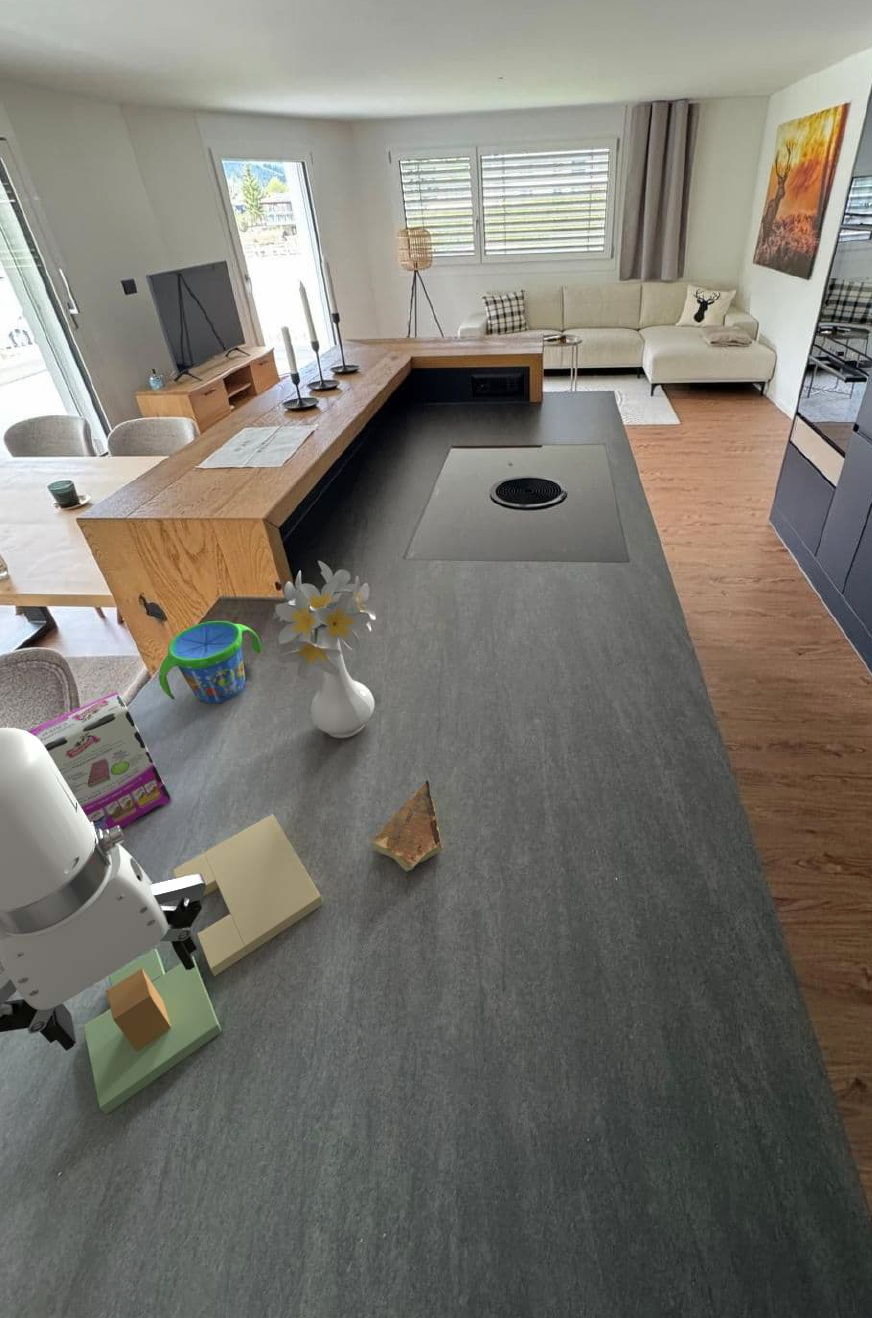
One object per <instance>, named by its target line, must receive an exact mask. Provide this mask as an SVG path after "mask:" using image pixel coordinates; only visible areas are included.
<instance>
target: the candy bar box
mask: <svg viewBox="0 0 872 1318" xmlns="http://www.w3.org/2000/svg"><path fill="white" fill-rule="evenodd" d="M26 731H27V732H29V733H31V734H32V735H34V736H35V737H37V738H38V739H39V740H40V741H41V743H42V744H43V745H44V746H45V748H46V750H47V751H48V753H49V755H50V756H51V758H52V760H53V761H54V763H55V765H56V766H57V768H58V770H59V771H60V773H61V775H62V776H63V778H64V780H65V781H66V783H67V785H68V786H69V788H70V790H71V791H72V793H73V795H74V796H75V798H76V800H77V801H78V803H79V805H80V806H81V808H82V810H83V811H84V813H85V815H86V816H87V818H88V820H89V821H90V823H91V822H93V824H94V825H95V827H96V829H99V828H100V829H101V830H102V831H103V830H105V829H108V830H109V829H111V828H113V827H115V826H117V825H119V826H120V828H121V829H123V828H124V827H126V826H128V825H130V824H131V823H134V822H136V821H137V820H139V819H141V818H143V817H144V816H147V814H148V815H149V813H151V812H153V811H155V810H157V809H158V808H161V807H163V806H164V805H166V804H167V803H168V804H169V802H171V801H172V798H171V797H172V796H171V795H170V793H169V791H168V788H167V786H166V784H165V782H164V780H163V777H162V776H161V773H160V771H159V770H158V768H157V765H156V763H155V762H154V760H153V757H152V755H151V753H150V751H149V749H148V747H147V745H146V743H145V741H144V739H143V737H142V735H141V733H140V731H139V729H138V727H137V725H136V723H135V721H134V719H133V717H132V715H131V713H130V711H129V709H128V707H127V705H126V703H125V702H124V700H123V698H122V696H121V694H120V693H119V691H118V690H117V691H115V692H112V693H110V694H108V695H106V696H104V697H101V698H99V699H97V700H93V701H92V702H89V703H88V704H84V705H83V706H80V707H78V708H76V709H74V710H71V711H69V712H67V713H65V714H63V715H61V716H58V717H56V718H54V719H52V720H49V721H46V722H44V723H43V724H39V725H38V726H35V727H33V728H31V729H29V730H26Z"/></svg>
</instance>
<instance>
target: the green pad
mask: <svg viewBox="0 0 872 1318" xmlns="http://www.w3.org/2000/svg"><path fill="white" fill-rule="evenodd" d="M191 956H192V959H193V962H194V964H195V967H194V968H192V969H191V970H189V969H188V970H187V971H186V969H185V967H184V966H183V964H182V962H180V964H178V965H177V966H175V967H173V968H171V969H170V970H168V971H167V972H166V970H165V966H164V964H163V960H162V957H161V955H160V953H159V951H158V949H157V948H153V949H152V950H150V951H149V952H147V953H144V954H143V955H142V956H141V957H140V956H139V958H136V960H133V961H131V962H130V963H128V964H126V965H125V966H123V967H122V968H120V969H118V970H117V971H115V972H113V973H112V975H111V974H110V975H109V977H108V979H109V982H110V986H111V987H109V988H108V989H106V995H107V999H108V1003H109V1009H108V1010H106V1011H105V1012H103V1013H102V1014H100V1015H99V1016H97V1017H95V1018H93V1019H92V1020H91V1021H89V1022H87V1023H86V1024H84V1025H83V1032H84V1036H85V1042H86V1045H87V1046H86V1047H87V1053H88V1056H89V1062H90V1067H91V1072H92V1077H93V1082H94V1088H95V1092H96V1099H97V1103H98V1108H99V1109H100V1110H101V1111H102V1113H103V1114H104V1115H108V1114H109V1113H110V1112H112V1111H114V1109H116V1108H118V1107H119V1106H121V1105H122V1104H123V1103H125V1102H126V1101H127V1100H129V1099H130V1098H131V1097H133V1096H134V1095H136V1094H137V1093H138V1092H140V1091H141V1090H142V1089H144V1088H145V1087H147V1086H148V1085H150V1084H151V1083H152V1082H154V1081H155V1080H156V1079H158V1078H159V1077H161V1076H162V1075H164V1074H165V1073H166V1072H168V1071H169V1070H171V1069H172V1068H173V1067H175V1066H176V1065H178V1064H180V1062H182V1061H184V1059H186V1058H188V1056H191V1054H193V1053H195V1052H196V1051H197V1050H199V1049H200V1048H201V1047H203V1046H205V1044H207V1043H209V1042H210V1041H211V1040H212V1039H214V1038H215V1037H217V1036H218V1035H220V1034H221V1033H222V1031H223V1030H222V1028H221V1026H220V1022H219V1020H218V1017H217V1015H216V1011H215V1009H214V1005H213V1003H212V1000H211V998H210V995H209V993H208V990H207V986H206V984H205V982H204V979H203V976H202V974H201V971H200V968H199V965H198V963H197V961H196V959H195V957H194V956H193V955H191Z"/></svg>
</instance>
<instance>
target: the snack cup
mask: <svg viewBox="0 0 872 1318" xmlns="http://www.w3.org/2000/svg"><path fill="white" fill-rule="evenodd" d="M245 632H247V633H249V634H250V635H251V636H250V637H251V647H252V649H253V651H254V652H255V653H257V654H261V653H262V645H261V641H260V638H259V636H258V635H257V633H256V632H255V631H254V630H252V629H251V628H250V627H248V626H246V625H244V624H240V623H233V622H231V621H226V620H212V621H205V622H201V623H198V624H195V625H192V626H189V627H187V628H185V629H183V630H182V631H181V632H179V633H177V634H176V635H175V636H174V637H173V638H172V639H171V641H170V642H169V644H168V647H167V655H166V656H165V658H164V659H163V661H162V663H161V665H160V667H159V671H158V680H159V685H160V687H161V689H162V690H163V691H164V693H165V694H166V695H167V696H168V697H169V698H170V699H171V700H175V696H174V694H172V692H171V691H172V690H171V688H170V684H169V681H168V678H167V675H168V674H169V672H170V671H171V669H172V668H173V667H177V668H178V669H179V671H180V673H181V674H182V676H183V678H184V680H185V682H186V683H187V684H188V686H189V687H190V689H191V691H192V692H193V694H194V696H195V697H196V699H197V700H198V701H199V702H202V703H206V704H223V703H224V702H226V701H229V700H231V699H233V698H235V696H236V695H237V694H239V693H241V692H243V691H244V686H245V683H246V675H245V667H244V666H245V665H244V659H243V652H242V643H243V633H245Z"/></svg>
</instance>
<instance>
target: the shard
mask: <svg viewBox="0 0 872 1318" xmlns="http://www.w3.org/2000/svg"><path fill="white" fill-rule="evenodd" d="M430 788H431V785H430V781H429V779H426V781H425V782H424V783H423V785H421V786H420V788H418V790H417V791H416V793H415V794H414V795H413V796H412V797H410V799H409V800H408V801H407V802H406V803H404V804H403V805H402V806H401V807H400V808H399V809H398V810H397V812H395V813H394V814H393V815H392V817H391V818H390V819H389V820H388V821H387V822H386V823H385V825H384V826H383V827H382V828H381V831H380V832H379V833H378V834H377V835H376V836H375V837H374V839H373V842H372V846H373V848H374V851H376V852H378V853H379V854H382V855H384V856H386V857H389V858H391V859H393V860H394V861H395V862H396V863H397V864H398V865H399V866H400V867H401V868H402V869H403V870H404V871H405V872H410V871H411V870H413V869H414V868H415V867H416V866H417V865H418V864H419V863H422V862H424V861H427V860H428V859H429V858H432V857H434V856H435V855H436V854H438V853H440V852H441V851H442V850H443V848H444V846H443V844H442V840H441V835H440V830H439V826H438V825H439V824H438V820H437V815H436V810H435V809H436V808H435V804H434V800H433V797H432V794H431V789H430Z"/></svg>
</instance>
